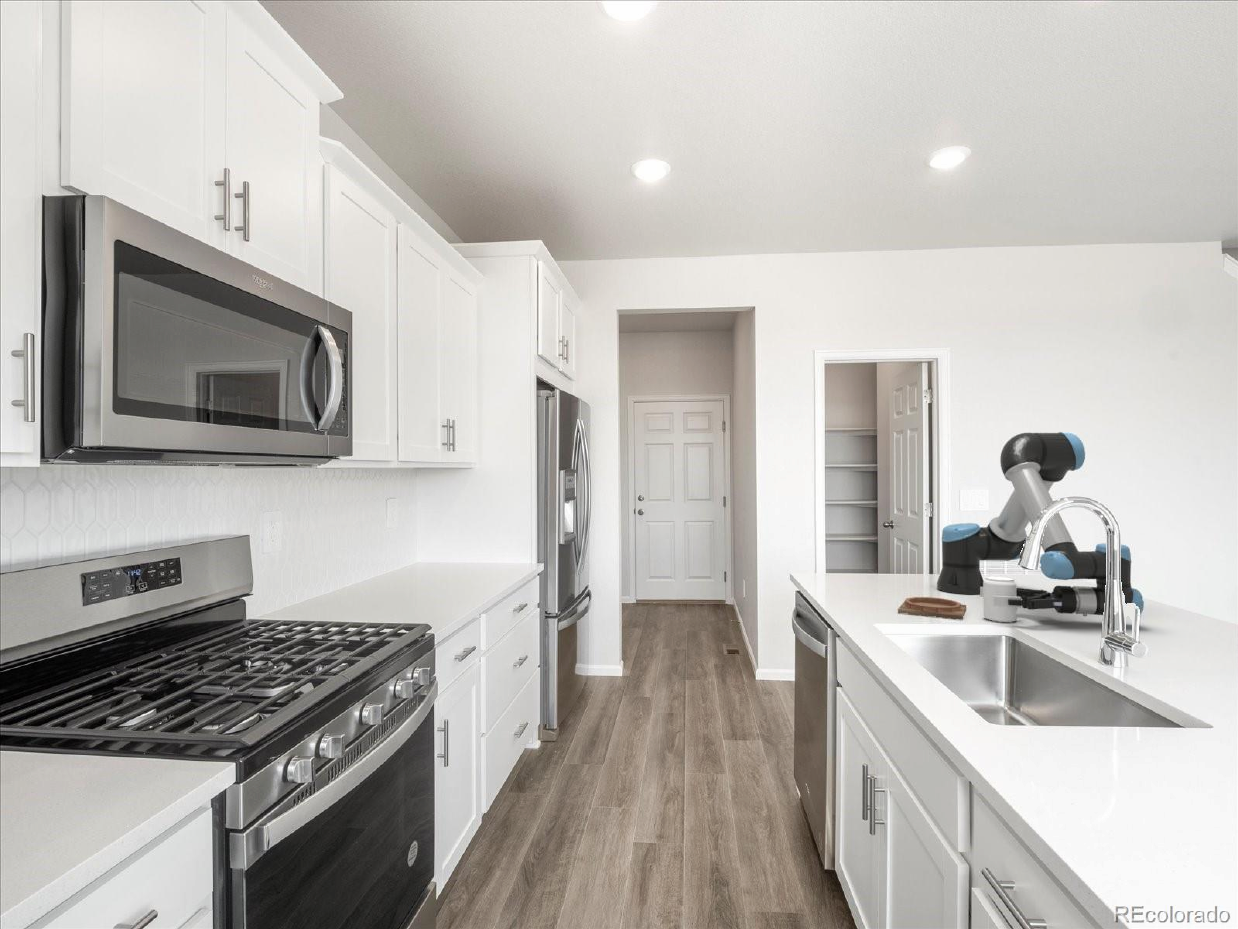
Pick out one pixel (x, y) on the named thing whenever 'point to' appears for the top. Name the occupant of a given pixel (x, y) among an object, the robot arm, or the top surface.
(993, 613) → the beverage can
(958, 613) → the coaster board
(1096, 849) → the top surface
